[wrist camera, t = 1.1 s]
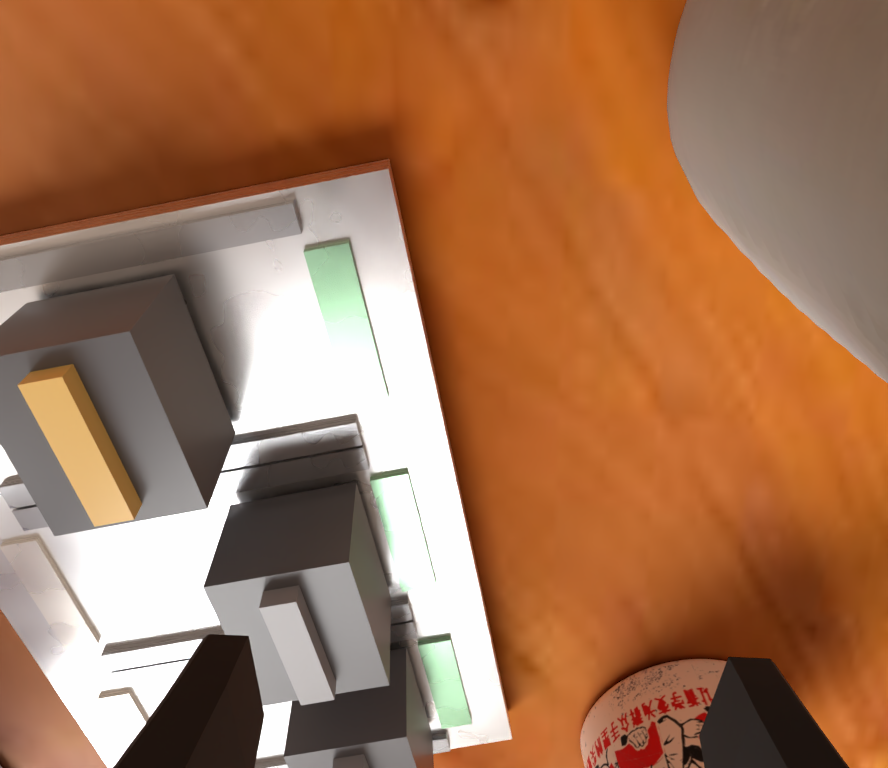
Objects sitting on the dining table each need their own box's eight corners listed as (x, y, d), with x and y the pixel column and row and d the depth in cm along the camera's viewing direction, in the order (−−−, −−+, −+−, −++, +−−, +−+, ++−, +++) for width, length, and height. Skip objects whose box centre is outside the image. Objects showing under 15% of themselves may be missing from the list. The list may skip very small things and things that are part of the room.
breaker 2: (332, 750, 29) (322, 860, 25) (297, 665, 26) (280, 775, 23) (432, 734, 28) (436, 843, 25) (406, 647, 26) (406, 754, 22)
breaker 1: (277, 617, 25) (256, 724, 21) (230, 504, 22) (197, 604, 19) (391, 597, 25) (389, 702, 21) (356, 482, 22) (347, 578, 19)
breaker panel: (139, 772, 31) (127, 807, 30) (-184, 272, 20) (-226, 293, 18) (508, 712, 30) (513, 745, 29) (389, 158, 19) (388, 171, 18)
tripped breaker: (104, 457, 21) (44, 552, 18) (26, 302, 19) (-62, 377, 15) (235, 432, 21) (201, 524, 18) (174, 274, 19) (119, 343, 15)
